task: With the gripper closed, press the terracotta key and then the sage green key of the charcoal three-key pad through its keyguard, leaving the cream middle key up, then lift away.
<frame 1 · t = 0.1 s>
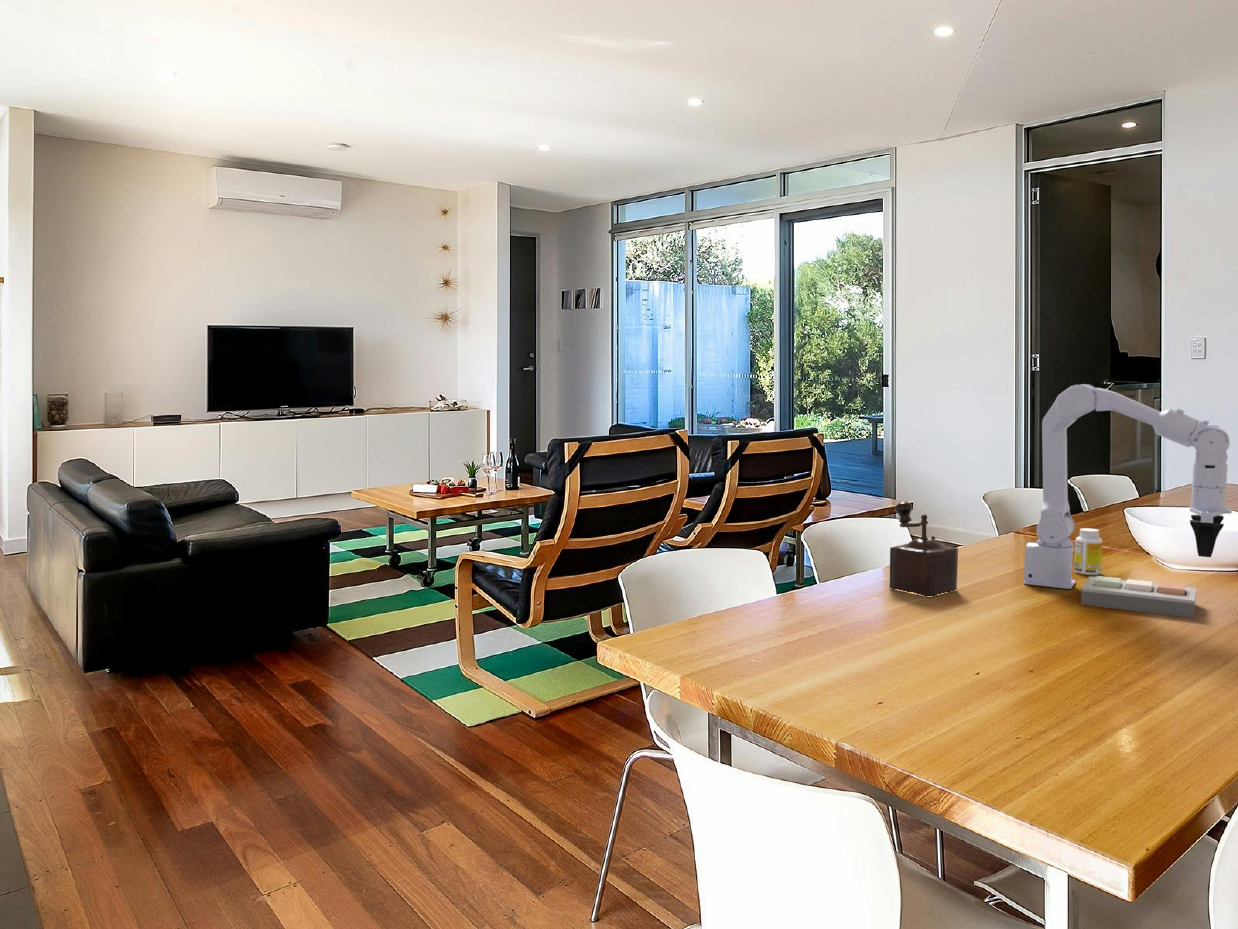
hand: (1204, 553, 184), 10 cm above the table, fingers open, 7 cm apart
sage key: (1107, 584, 185), point 3 cm above the table, slide at 0.0 cm
terracotta key: (1171, 591, 179), point 3 cm above the table, slide at 0.0 cm
manual coffee grinder: (914, 588, 198), on the table
keypad base: (1138, 604, 183), on the table
cream key: (1139, 587, 182), point 3 cm above the table, slide at 0.0 cm
supplement bottle: (1087, 574, 211), on the table
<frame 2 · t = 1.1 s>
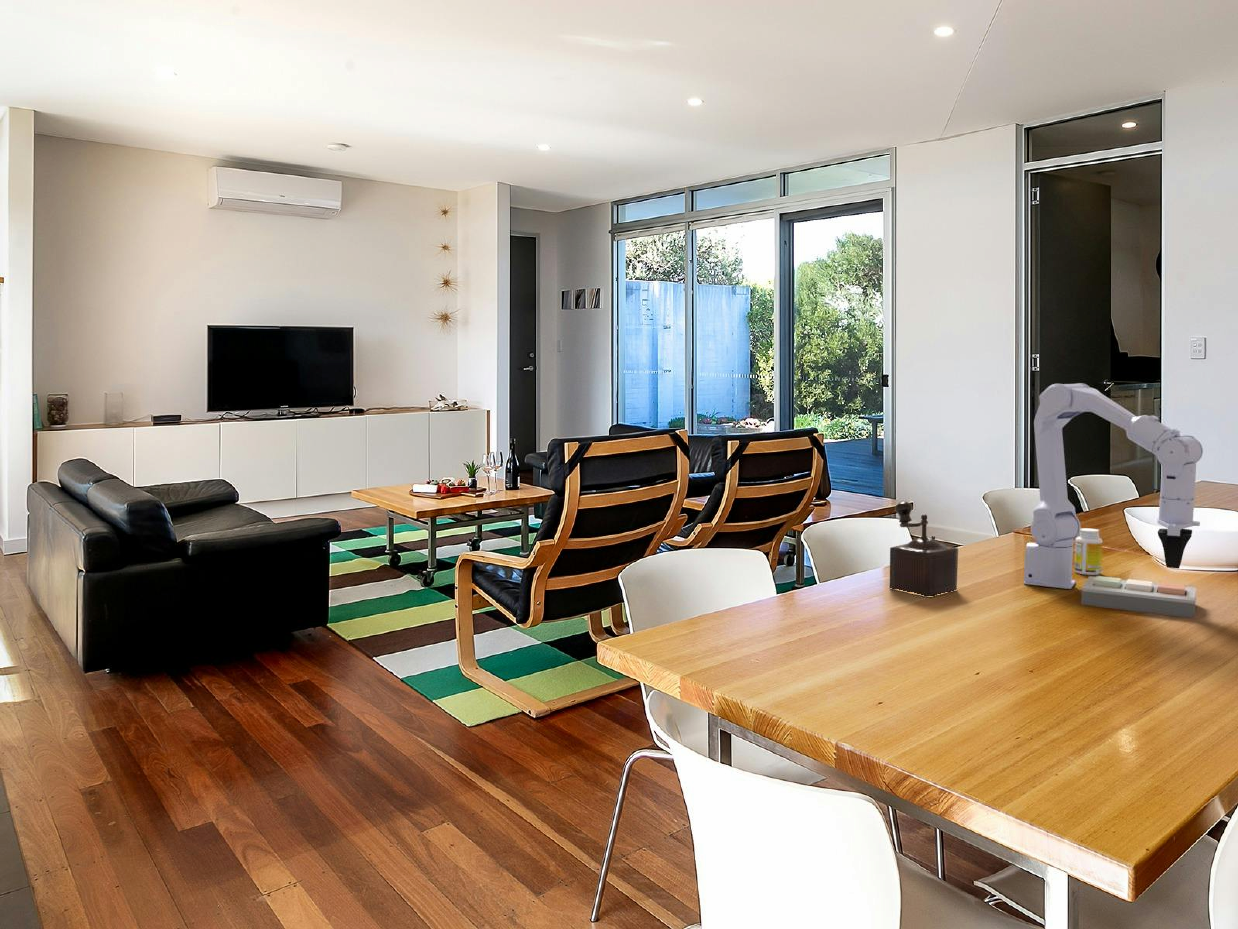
hand: (1173, 566, 179), 8 cm above the table, fingers closed
nothing on the table moved.
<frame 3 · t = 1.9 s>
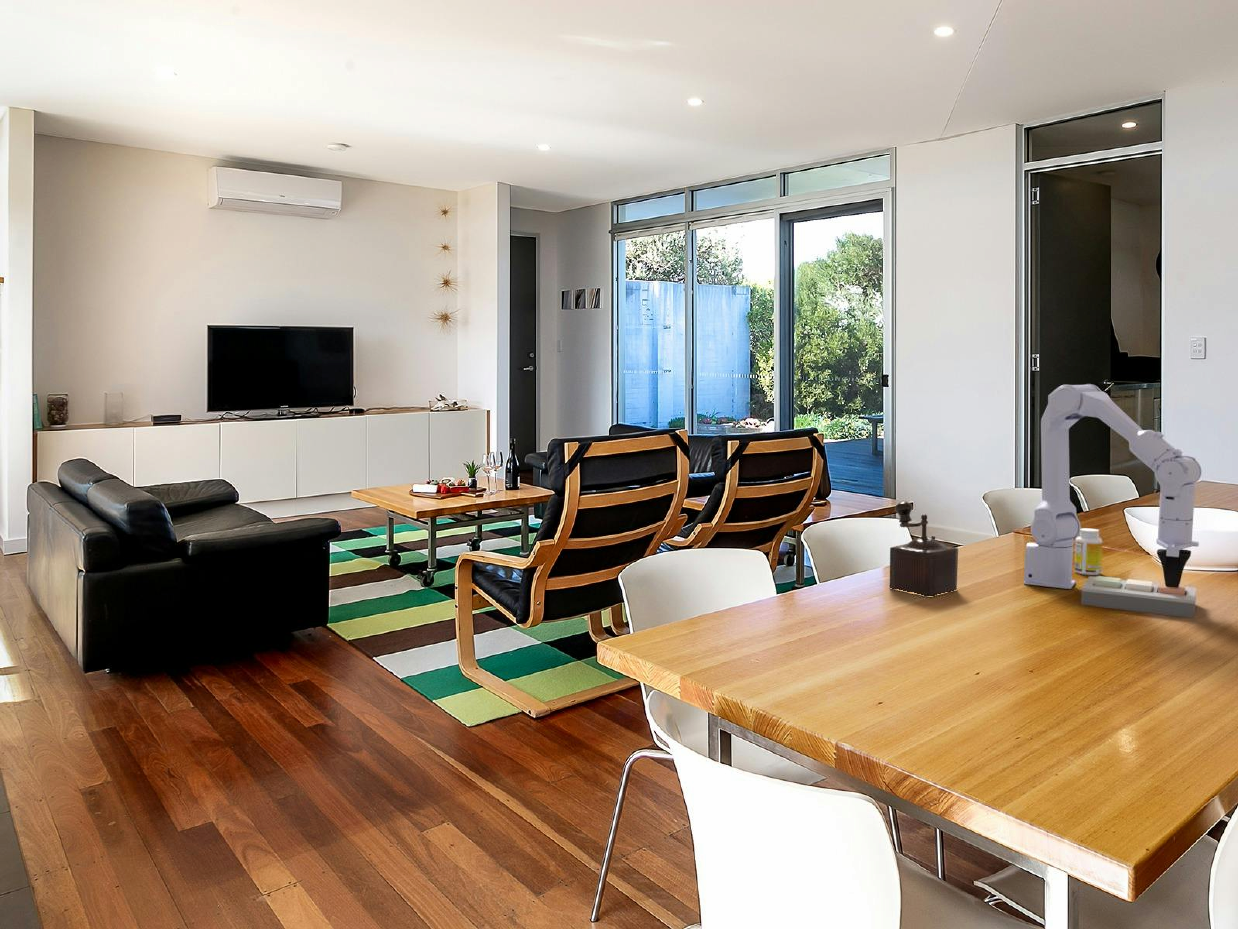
hand: (1172, 586, 179), 4 cm above the table, fingers closed, pressing on terracotta key
terracotta key: (1171, 591, 179), point 3 cm above the table, slide at 0.1 cm, touching gripper
everything else where it was.
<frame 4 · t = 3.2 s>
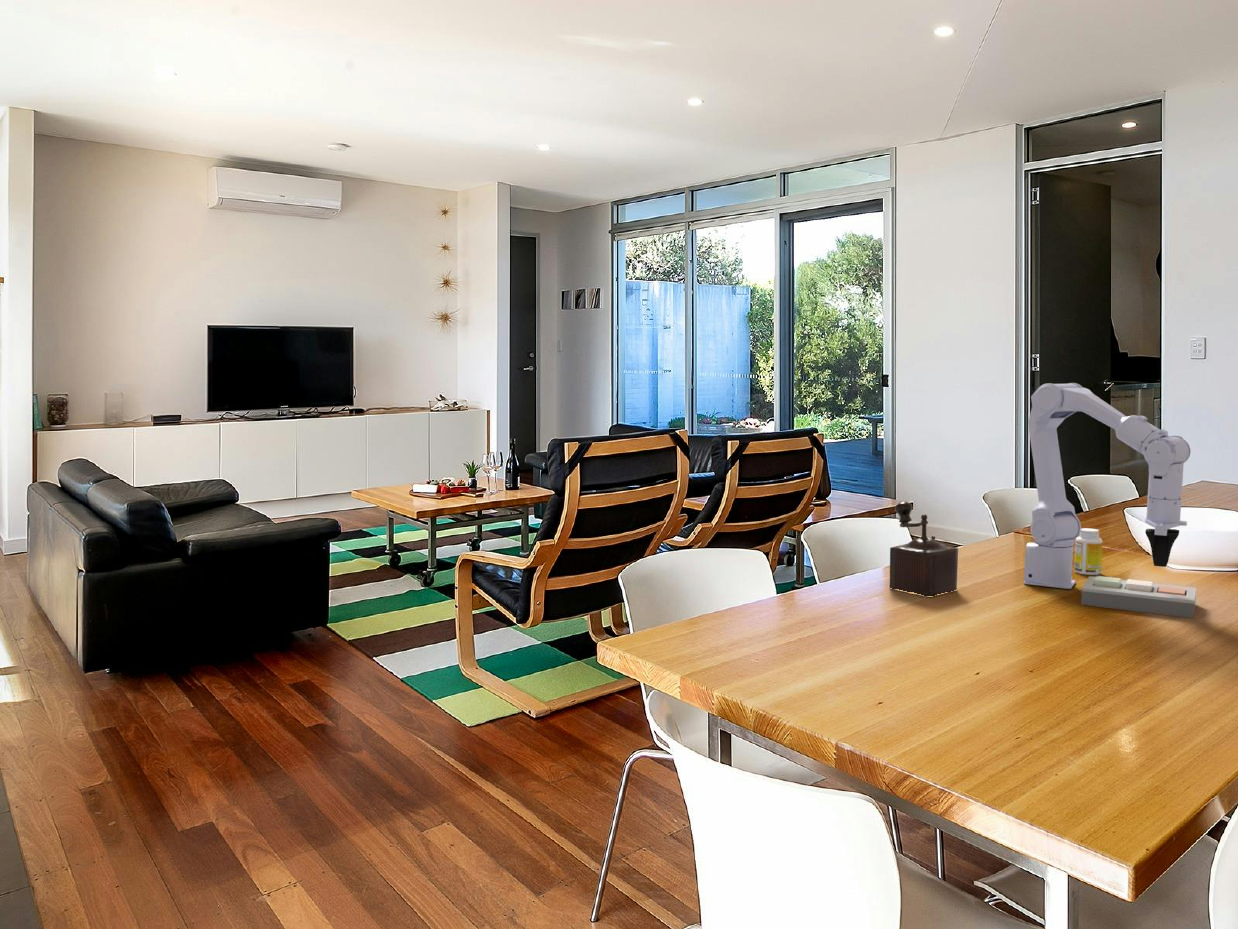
hand: (1160, 565, 180), 8 cm above the table, fingers closed
terracotta key: (1171, 595, 179), point 3 cm above the table, slide at 0.8 cm
everything else where it was.
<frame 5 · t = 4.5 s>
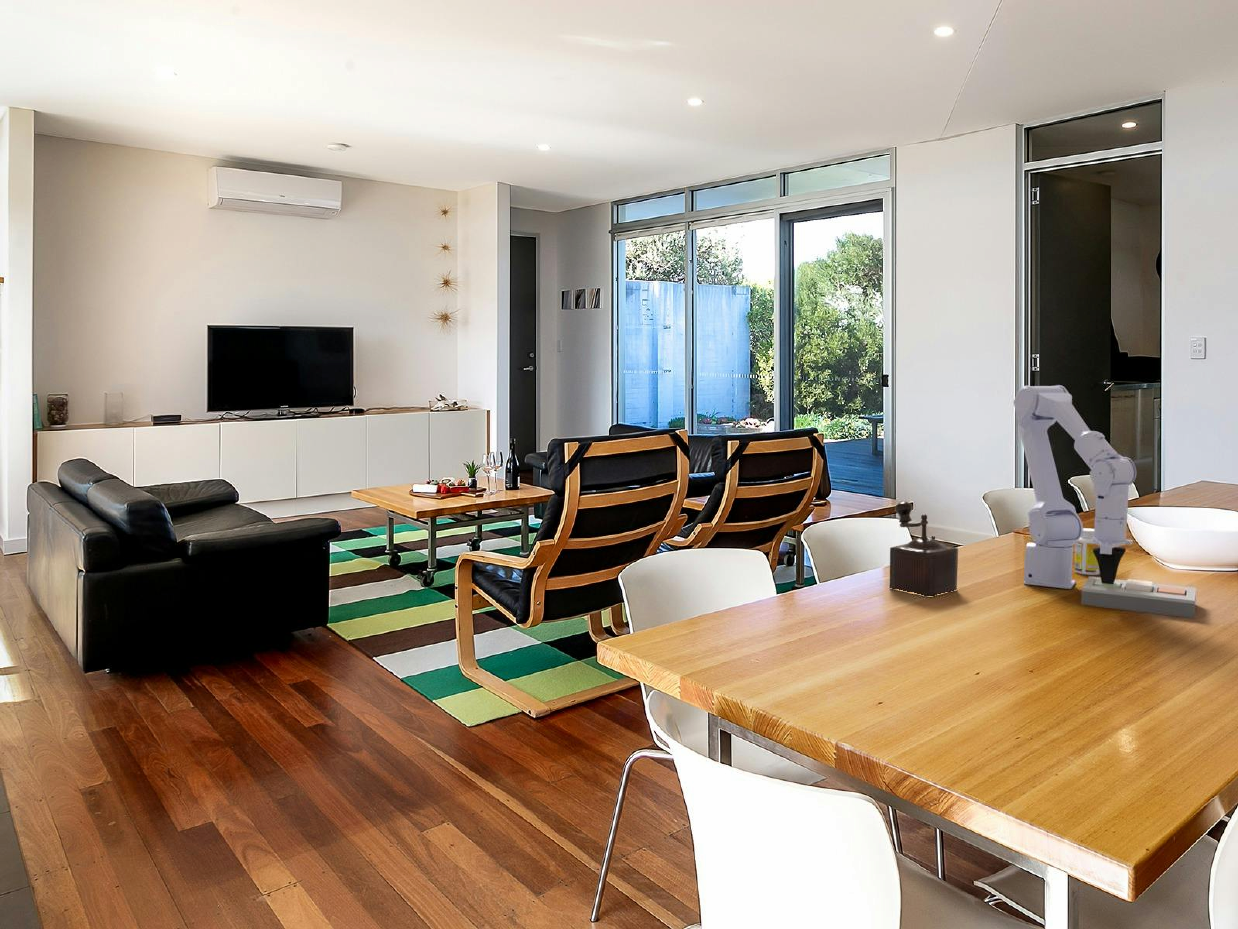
hand: (1107, 583, 185), 4 cm above the table, fingers closed, pressing on sage key
sage key: (1107, 588, 185), point 3 cm above the table, slide at 0.8 cm, touching gripper
everything else where it was.
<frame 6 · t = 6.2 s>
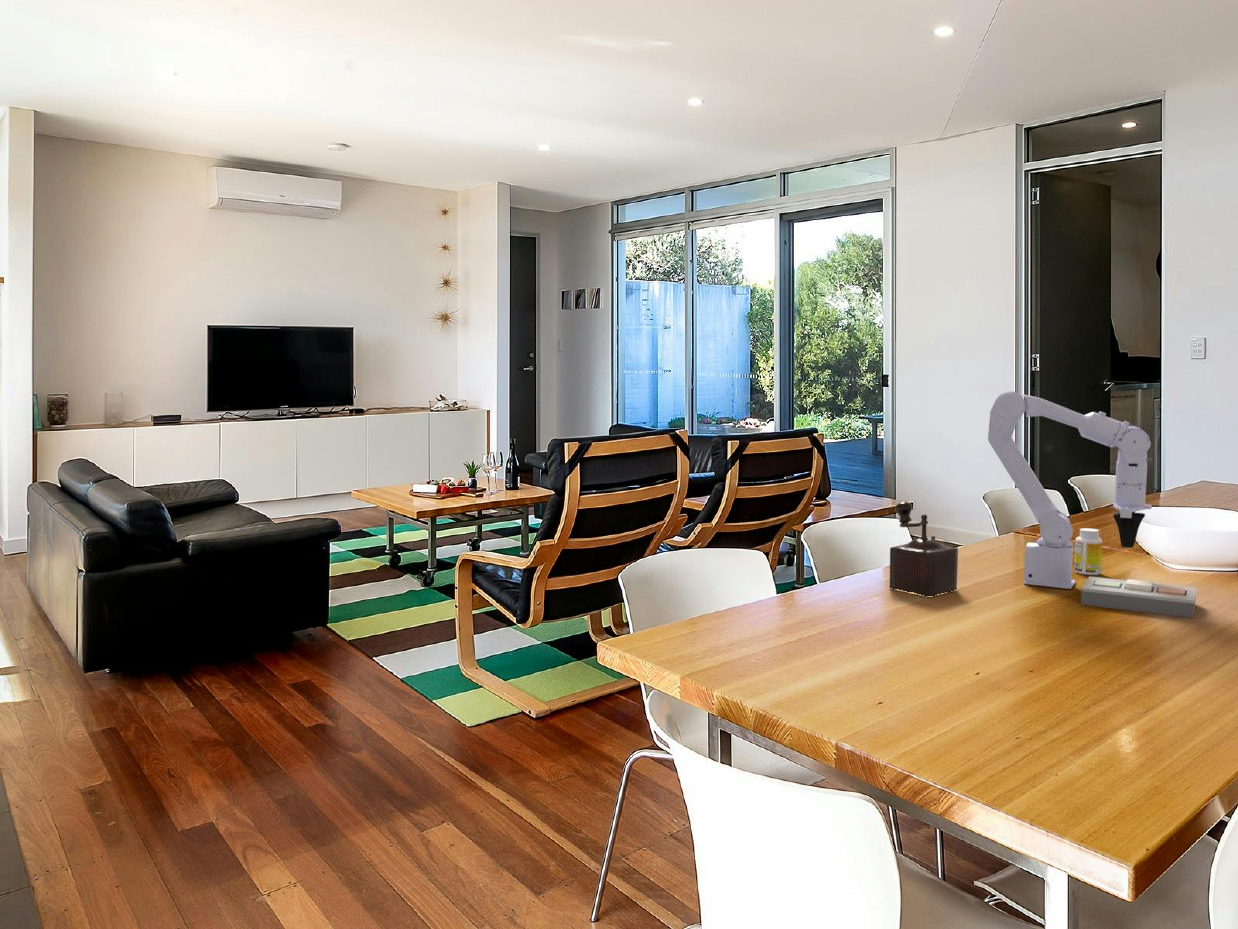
hand: (1127, 547, 194), 9 cm above the table, fingers closed
sage key: (1107, 588, 185), point 3 cm above the table, slide at 0.8 cm
everything else where it was.
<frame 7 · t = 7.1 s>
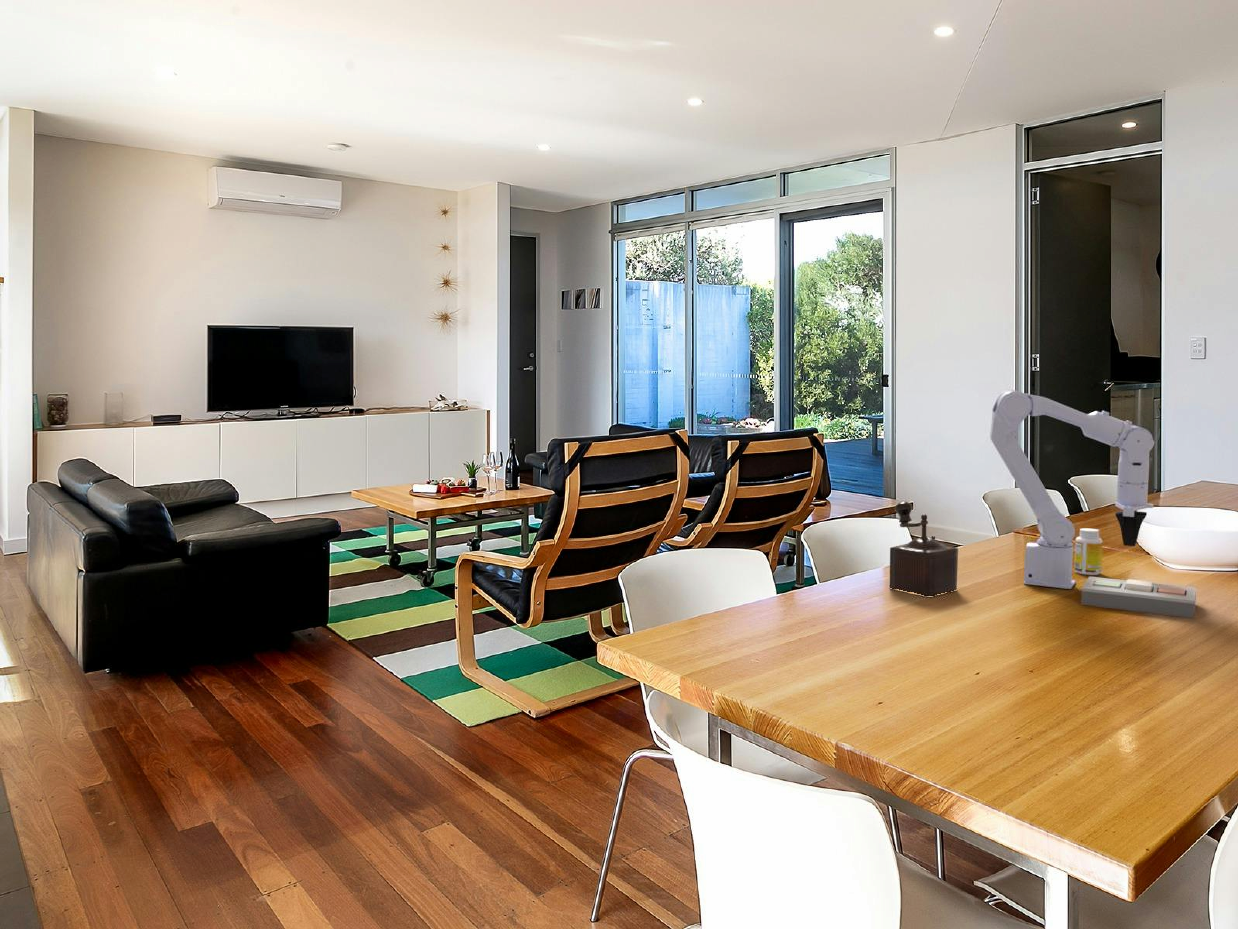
hand: (1129, 545, 195), 9 cm above the table, fingers closed
nothing on the table moved.
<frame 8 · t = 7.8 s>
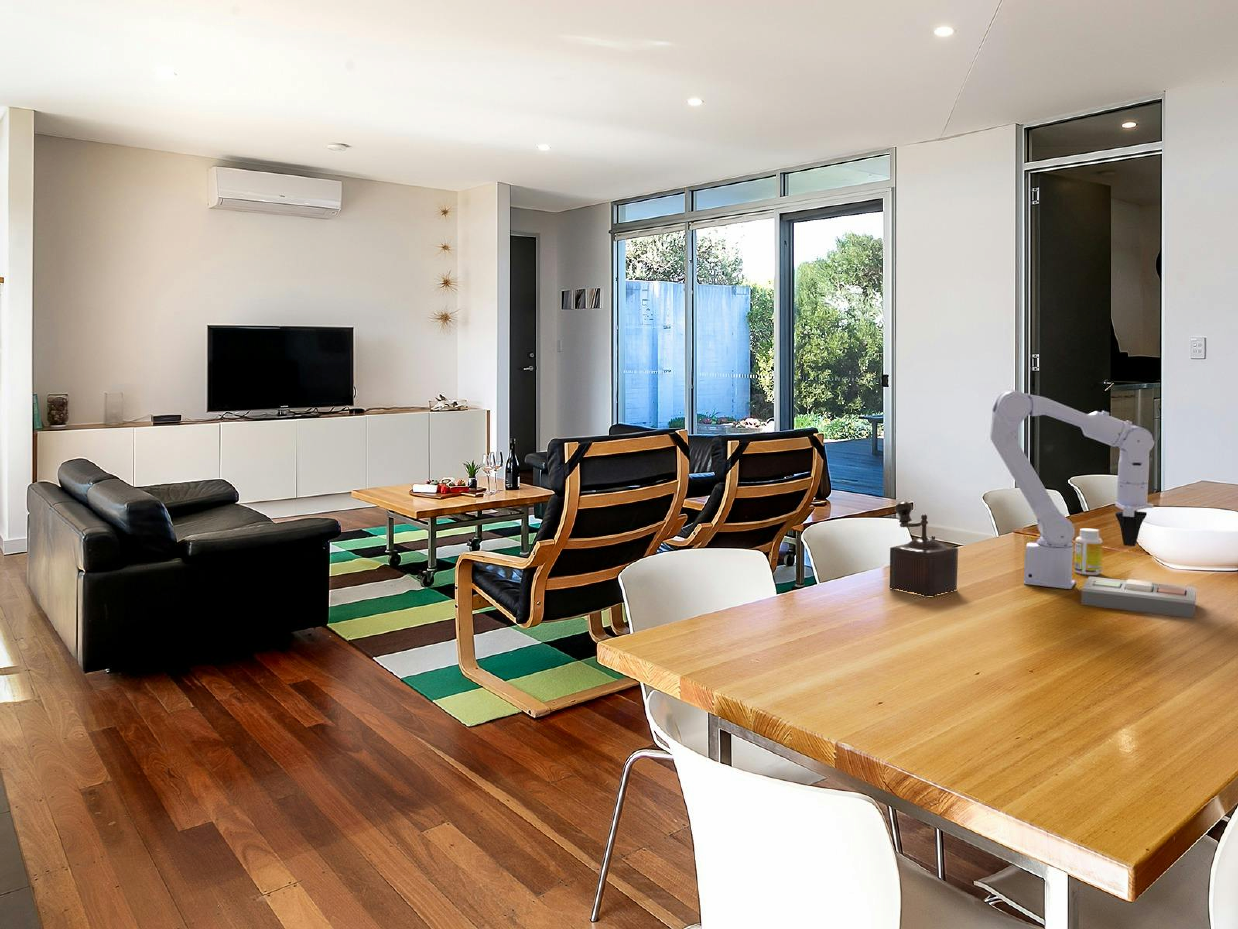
hand: (1129, 545, 195), 9 cm above the table, fingers closed
nothing on the table moved.
at the end: terracotta key slide at 0.8 cm; sage key slide at 0.8 cm; cream key slide at 0.0 cm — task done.
